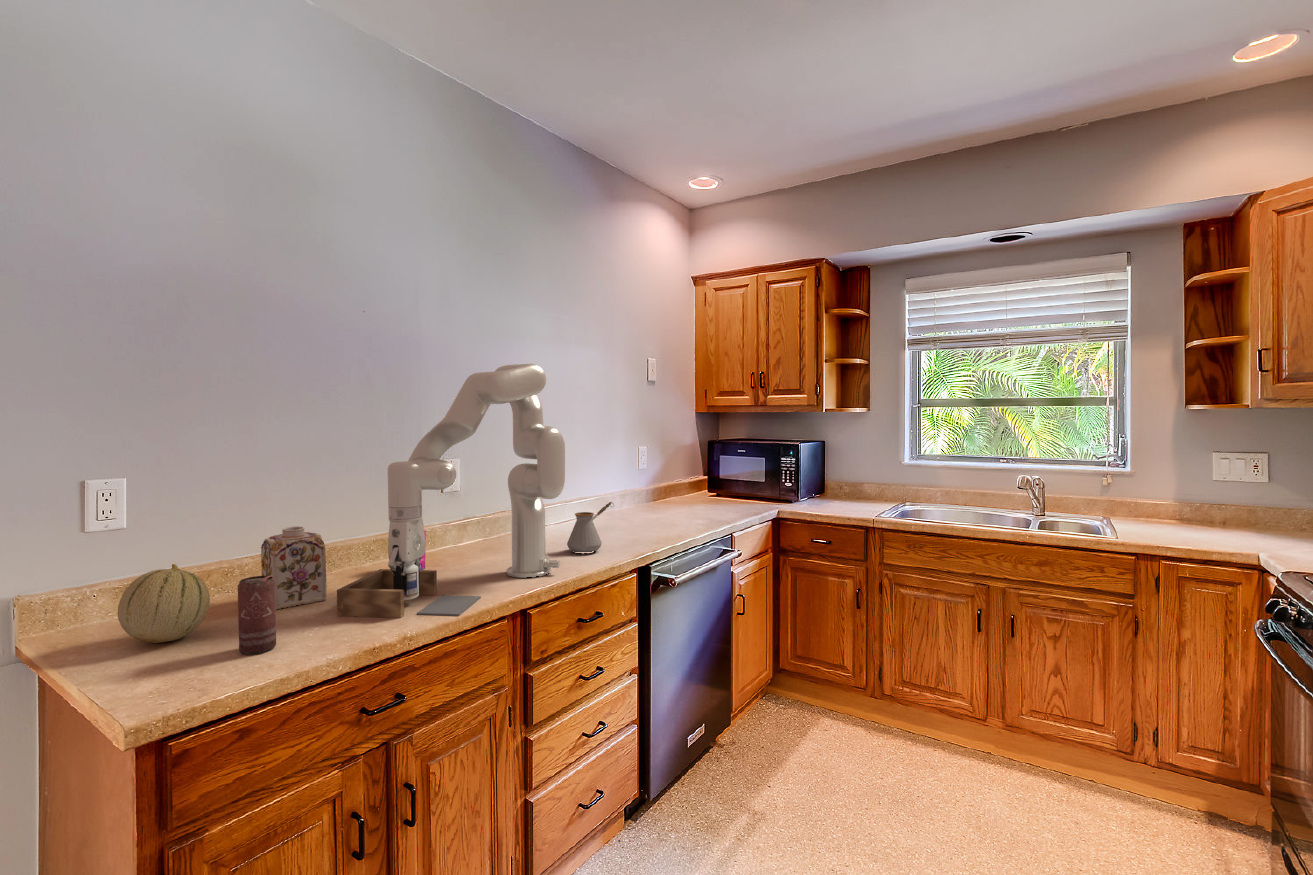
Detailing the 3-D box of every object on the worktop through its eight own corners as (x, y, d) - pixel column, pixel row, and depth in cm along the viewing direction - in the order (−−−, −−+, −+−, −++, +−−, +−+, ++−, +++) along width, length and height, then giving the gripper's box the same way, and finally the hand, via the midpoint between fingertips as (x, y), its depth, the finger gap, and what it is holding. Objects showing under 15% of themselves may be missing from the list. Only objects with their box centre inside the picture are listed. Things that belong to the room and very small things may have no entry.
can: (284, 645, 125) (283, 575, 124) (254, 657, 119) (253, 584, 118) (262, 641, 127) (260, 573, 126) (231, 653, 121) (229, 581, 120)
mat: (481, 597, 157) (481, 596, 157) (459, 615, 143) (459, 614, 143) (442, 596, 158) (442, 595, 158) (416, 614, 144) (416, 612, 144)
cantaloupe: (105, 659, 118) (103, 579, 117) (134, 633, 131) (131, 562, 131) (200, 647, 124) (198, 572, 123) (218, 624, 137) (216, 556, 136)
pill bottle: (399, 594, 154) (398, 554, 154) (421, 593, 154) (421, 554, 154) (391, 600, 149) (390, 560, 148) (415, 600, 149) (414, 559, 149)
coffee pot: (587, 557, 201) (587, 510, 201) (559, 552, 207) (559, 507, 207) (625, 545, 219) (625, 502, 219) (599, 541, 225) (599, 500, 225)
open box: (436, 593, 160) (436, 570, 160) (400, 617, 142) (400, 591, 141) (380, 592, 162) (380, 569, 161) (337, 615, 143) (336, 589, 143)
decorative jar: (313, 590, 163) (312, 522, 162) (328, 600, 155) (326, 528, 154) (260, 600, 155) (258, 527, 154) (272, 611, 146) (271, 534, 146)
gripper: (403, 519, 142) (404, 598, 143) (436, 507, 159) (437, 578, 160) (371, 519, 142) (373, 598, 143) (407, 507, 159) (409, 577, 160)
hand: (406, 586), depth 151 cm, fingers closed on pill bottle, 5 cm apart
